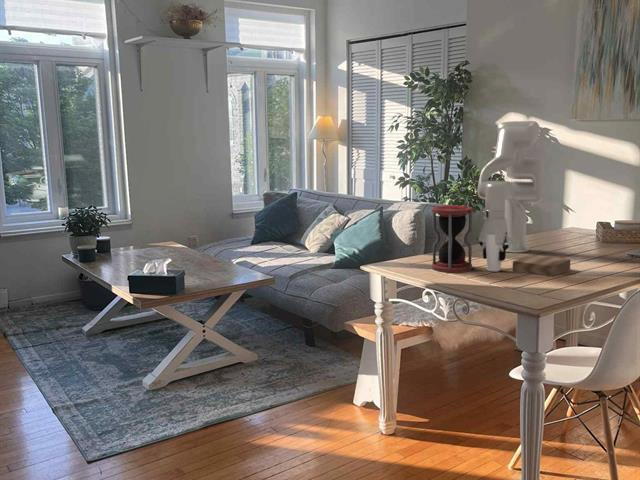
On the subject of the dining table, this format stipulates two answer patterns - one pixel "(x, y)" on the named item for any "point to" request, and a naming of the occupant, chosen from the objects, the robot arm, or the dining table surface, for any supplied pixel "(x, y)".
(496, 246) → the white tapered cylinder
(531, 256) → the walnut block
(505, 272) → the dining table surface
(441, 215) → the hourglass
